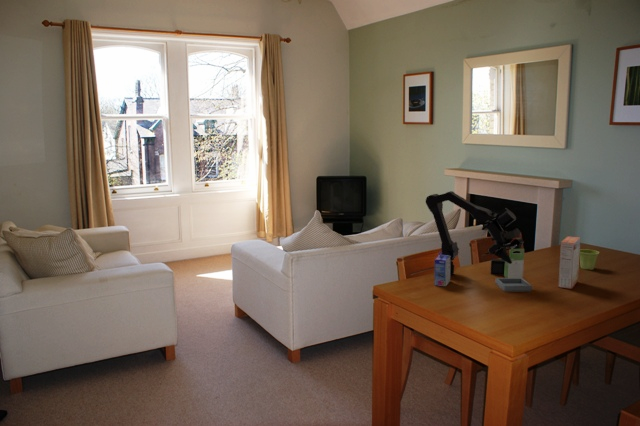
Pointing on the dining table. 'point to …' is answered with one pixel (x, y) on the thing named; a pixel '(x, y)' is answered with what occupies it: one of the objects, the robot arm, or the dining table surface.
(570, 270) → the cracker box
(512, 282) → the tray
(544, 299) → the dining table surface
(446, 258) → the ink cartridge box
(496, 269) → the digital camera
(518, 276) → the ink box
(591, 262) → the plant pot
